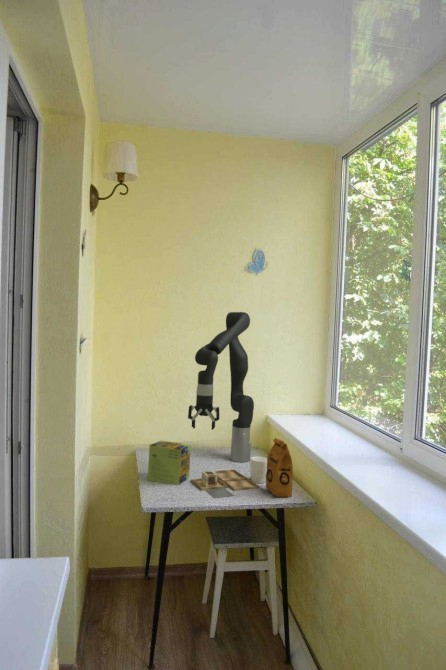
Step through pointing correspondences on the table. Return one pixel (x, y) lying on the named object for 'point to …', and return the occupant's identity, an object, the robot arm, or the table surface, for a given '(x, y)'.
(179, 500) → the table surface
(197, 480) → the tray
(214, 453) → the table surface
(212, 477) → the letter cube
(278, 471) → the coffee package
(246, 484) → the tray
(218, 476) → the tray
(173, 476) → the protein box
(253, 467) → the white cup
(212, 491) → the slate tile
